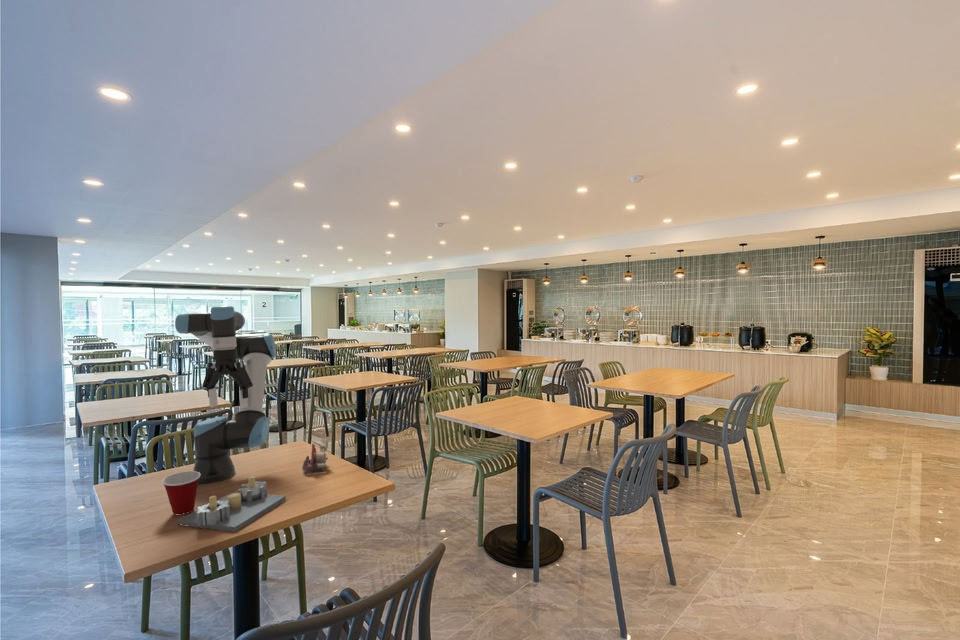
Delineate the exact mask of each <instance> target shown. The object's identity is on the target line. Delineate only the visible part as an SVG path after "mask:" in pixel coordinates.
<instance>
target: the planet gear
mask: <svg viewBox="0 0 960 640" xmlns="http://www.w3.org/2000/svg"><path fill="white" fill-rule="evenodd" d="M196 508H197V509H196V511H197V525H198V526H201V525H211V526H212V525H216V523H219V522H221V521H224V520H228V519H229V518H230V504H229V501H228V500H226V501H217V508H214V509H210V507H209V502H207V503H205V504H202V505H200V506H198V507H196Z"/></svg>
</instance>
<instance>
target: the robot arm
mask: <svg viewBox="0 0 960 640" xmlns="http://www.w3.org/2000/svg"><path fill="white" fill-rule="evenodd" d="M174 320H175V322H174V325H175V329H176V332H177V333H178V334H181V335H182V334H185V335H187V334H191V335H193V336H194V337H196V338H197V339H198V340H199V341H202V342H203V343H204V344H206V345H207V346H209V347H210V349H211V351H212V353H213V354H212V355H213V357H212V358H213V360H214V361H209V362H208V363H207V371H206V373H205V377H204V380H203V383H202V385H201V386H202V388H204V389H206V390H207V397H208V400H209V408H214V407H218V404H219V403H218V391H217V389H218V388H216V385H218V383H219V381H220V380H221V377H222V376H223V375H227V376H228V375H229V376H230V377H232V379H233V380H234V381H235V382H236V384H237V385H238V386H239V388H240V389H239V390H238V392H239V393H238V394H239V397H238V398H239V407H240V408H239V410H238V412H236V413H235V414H234V419H230V420H228V418H227V417H226V416H217V417H212V418H209V419H205V420H202V421H200V422H198V423H196V424H195V425H194V427H193V440H194V441H193V444H194V456H195V461H194V467H193V470H192V471H196V472H199V473H200V474H201V475H200V477H199V480H198V484H199V485H200V484H211V483H215V482H220V481H222V480H226V479H228V478H230V477H231V476H233V475H235V473H236V467H235V464H234V462H233V460H232V459H231V456H230V452H229V450H238V449H246V448H254V447H259V446H263V445H265V443H266V442H267V439H268V437H269V431H270V419H269V418H268V416H266V413H265V412H264V411H263V407H264V397H265V390H266V389H265V388H266V377H267V371H268V369H267V368H268V365H269V364H271V362H272V359H274V358H276V356H277V347H276V341H275V338H274V336H273V335H272V334H271V333H268V332H267V333H266V332H265V333H264V332H261V333H247V334H246V333H243V334H237V333H236V332H237V331H239V330H241V329H242V328H243V327H244V326H245V323H246V319H245V316H244V315H243V314H242V313H241V312H239V311H236V310H235V308H234V306H232V305H223V306H222V305H221V306H220V305H218V306H212V307H211V308H210V312H185V313H179V314H177V316H176V317H175V319H174ZM239 360H240V361H239ZM241 360H242V361H241ZM198 484H197V485H198Z"/></svg>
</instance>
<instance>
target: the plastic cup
mask: <svg viewBox="0 0 960 640" xmlns="http://www.w3.org/2000/svg"><path fill="white" fill-rule="evenodd" d="M200 475H201V474H200V473H199V472H196V471H193V470H186V471H179V472H175V473H172V474H169V475H167V476H166V477H164V478H163V479H162V480H161V482H162V485H163V487H164V488H165V490H166V491H165V492H166V493H167V495H166V496H167V497H168V498H167V499H168V501H169V505H170V507H171V511H172V513H174V514H183V513H187V512H189V513H191V512H193V511H194V509H195V506H196V505H195V502H196V497H197V488H198V480H199V477H200ZM192 510H193V511H192ZM190 511H191V512H190ZM174 514H173V515H174ZM187 514H188V513H187Z"/></svg>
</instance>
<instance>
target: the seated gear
mask: <svg viewBox="0 0 960 640" xmlns="http://www.w3.org/2000/svg"><path fill="white" fill-rule="evenodd" d="M239 486H240V487H239V488H238V489H237V492H238V493H240V494H241V502H247V503H251V502H252V501H256V500H259V499H263V498H265V494H268V490H267V488H268V487H267V482H266V481H257V480H255V486H254V487H249V482H248V483H245V484H244V483H243V484H241V485H239Z"/></svg>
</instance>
